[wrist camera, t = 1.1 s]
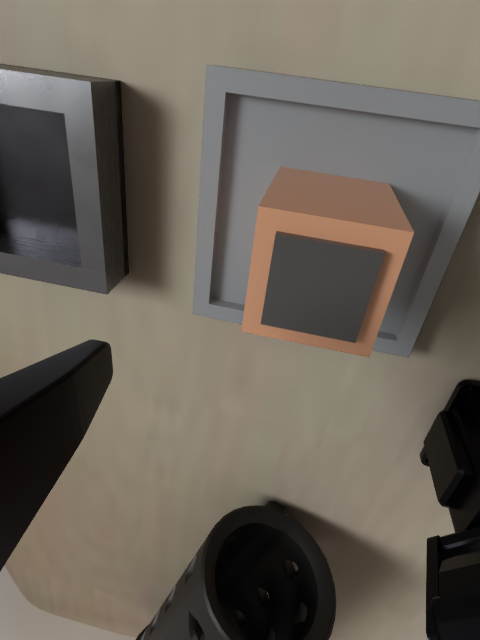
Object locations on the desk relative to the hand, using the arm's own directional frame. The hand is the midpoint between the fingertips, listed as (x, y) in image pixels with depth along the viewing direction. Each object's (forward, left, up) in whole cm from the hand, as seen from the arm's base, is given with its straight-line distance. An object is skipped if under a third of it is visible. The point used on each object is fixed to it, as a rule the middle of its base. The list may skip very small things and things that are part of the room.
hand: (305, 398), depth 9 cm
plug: (0, 0, -11) cm, 11 cm away
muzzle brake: (+2, +34, -12) cm, 36 cm away
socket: (+14, 0, -12) cm, 18 cm away
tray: (0, 0, -12) cm, 12 cm away
